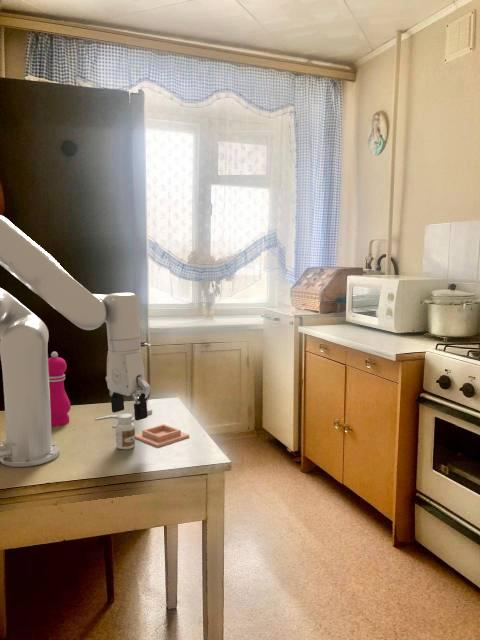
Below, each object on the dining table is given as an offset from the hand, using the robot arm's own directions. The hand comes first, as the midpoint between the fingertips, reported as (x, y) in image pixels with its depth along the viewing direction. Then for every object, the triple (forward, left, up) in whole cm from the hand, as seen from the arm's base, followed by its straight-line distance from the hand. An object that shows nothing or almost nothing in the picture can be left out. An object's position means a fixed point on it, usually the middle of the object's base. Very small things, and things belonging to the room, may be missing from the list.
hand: (129, 414), depth 124 cm
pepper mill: (-4, +30, -8) cm, 31 cm away
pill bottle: (-1, +1, -8) cm, 8 cm away
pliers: (+12, +20, -8) cm, 25 cm away
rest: (+9, 0, -8) cm, 12 cm away
